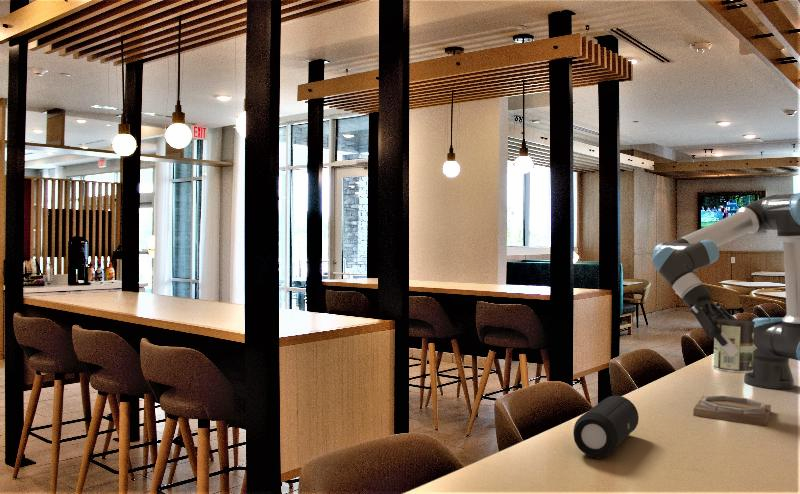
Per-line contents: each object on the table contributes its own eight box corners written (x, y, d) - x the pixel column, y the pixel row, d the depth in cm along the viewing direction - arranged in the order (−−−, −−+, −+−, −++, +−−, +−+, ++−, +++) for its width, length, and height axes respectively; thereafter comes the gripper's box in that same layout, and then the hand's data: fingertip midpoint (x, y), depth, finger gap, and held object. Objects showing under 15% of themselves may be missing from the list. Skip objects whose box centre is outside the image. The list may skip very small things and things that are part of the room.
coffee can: (746, 367, 199) (748, 319, 199) (757, 374, 189) (759, 323, 188) (708, 365, 201) (710, 317, 201) (717, 372, 191) (719, 321, 190)
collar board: (702, 402, 207) (703, 392, 207) (770, 411, 198) (770, 400, 198) (693, 415, 192) (693, 403, 192) (766, 425, 183) (766, 413, 183)
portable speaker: (614, 465, 149) (615, 418, 148) (569, 456, 154) (570, 411, 153) (640, 436, 170) (641, 396, 170) (599, 430, 176) (601, 391, 175)
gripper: (702, 298, 213) (752, 357, 201) (663, 301, 199) (714, 364, 187) (720, 282, 209) (772, 341, 197) (681, 284, 195) (734, 347, 183)
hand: (744, 352), depth 192 cm, fingers closed on coffee can, 10 cm apart
